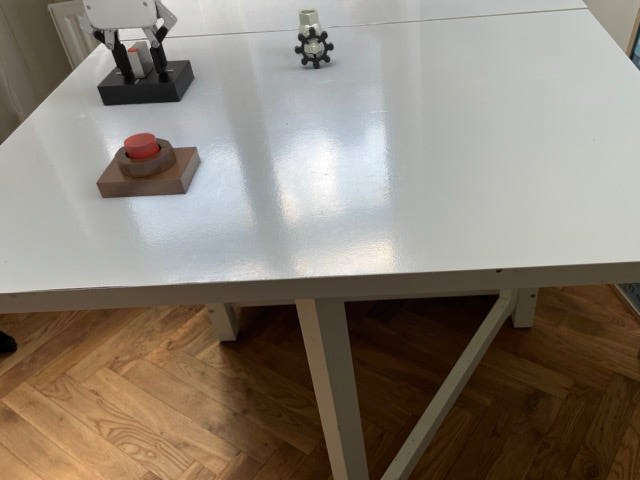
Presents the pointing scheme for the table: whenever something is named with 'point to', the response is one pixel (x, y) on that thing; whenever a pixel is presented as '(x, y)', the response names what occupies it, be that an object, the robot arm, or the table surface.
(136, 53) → the hob knob
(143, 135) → the button
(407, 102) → the table surface
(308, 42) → the valve
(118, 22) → the robot arm
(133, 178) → the button block
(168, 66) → the panel
